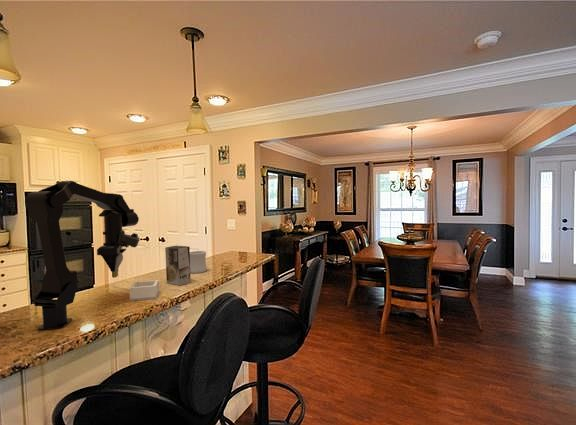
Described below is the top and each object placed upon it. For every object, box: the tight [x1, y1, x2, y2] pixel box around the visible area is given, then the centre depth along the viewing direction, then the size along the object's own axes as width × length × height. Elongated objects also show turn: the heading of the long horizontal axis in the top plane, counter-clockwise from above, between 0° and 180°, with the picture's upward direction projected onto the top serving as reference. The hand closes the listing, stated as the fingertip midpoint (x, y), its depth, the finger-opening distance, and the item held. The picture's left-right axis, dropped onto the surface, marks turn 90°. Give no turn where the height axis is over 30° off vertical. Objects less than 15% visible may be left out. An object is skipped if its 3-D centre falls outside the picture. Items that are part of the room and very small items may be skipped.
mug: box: [190, 250, 208, 274], centre depth 153 cm, size 12×9×10 cm
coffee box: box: [164, 245, 192, 286], centre depth 133 cm, size 9×6×16 cm
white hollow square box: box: [129, 279, 160, 302], centre depth 115 cm, size 9×9×5 cm
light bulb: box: [111, 253, 124, 278], centre depth 112 cm, size 6×6×10 cm
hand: (115, 270), depth 112 cm, fingers closed on light bulb, 5 cm apart
